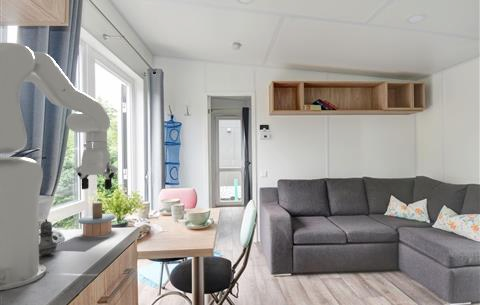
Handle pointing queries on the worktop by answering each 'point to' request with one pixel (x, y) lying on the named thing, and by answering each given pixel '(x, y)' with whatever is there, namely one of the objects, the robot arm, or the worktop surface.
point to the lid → (97, 215)
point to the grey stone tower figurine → (46, 241)
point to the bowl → (96, 229)
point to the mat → (80, 243)
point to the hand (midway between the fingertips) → (96, 189)
